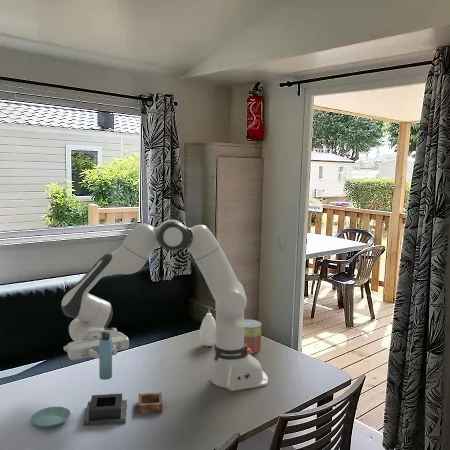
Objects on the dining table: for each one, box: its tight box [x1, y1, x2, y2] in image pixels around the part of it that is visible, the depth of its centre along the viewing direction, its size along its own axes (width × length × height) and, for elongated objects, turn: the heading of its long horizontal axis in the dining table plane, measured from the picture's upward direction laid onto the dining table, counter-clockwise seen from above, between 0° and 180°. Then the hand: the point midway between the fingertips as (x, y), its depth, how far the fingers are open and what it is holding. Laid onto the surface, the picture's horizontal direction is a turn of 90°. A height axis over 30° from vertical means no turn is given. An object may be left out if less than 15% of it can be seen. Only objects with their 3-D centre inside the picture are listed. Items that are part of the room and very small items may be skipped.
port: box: [83, 393, 128, 427], centre depth 152 cm, size 13×12×4 cm
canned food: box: [244, 318, 263, 353], centre depth 211 cm, size 11×11×12 cm
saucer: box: [30, 406, 71, 429], centre depth 147 cm, size 12×12×2 cm
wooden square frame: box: [137, 392, 164, 415], centre depth 157 cm, size 8×8×3 cm
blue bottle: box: [98, 331, 113, 381], centre depth 150 cm, size 4×4×15 cm
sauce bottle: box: [199, 308, 216, 347], centre depth 212 cm, size 8×8×18 cm
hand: (106, 354), depth 149 cm, fingers closed on blue bottle, 4 cm apart
